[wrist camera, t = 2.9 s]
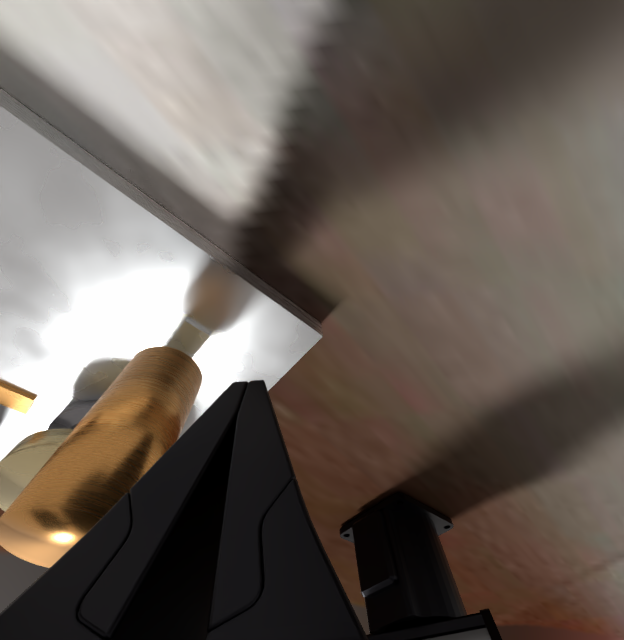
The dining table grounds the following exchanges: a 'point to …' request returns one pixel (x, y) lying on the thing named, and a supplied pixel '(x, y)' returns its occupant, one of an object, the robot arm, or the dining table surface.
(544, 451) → the dining table surface
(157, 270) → the base
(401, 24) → the dining table surface
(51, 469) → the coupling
